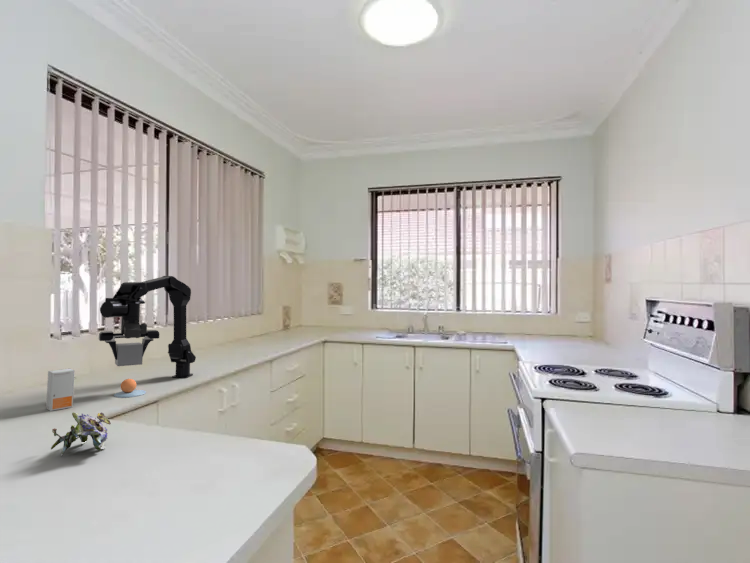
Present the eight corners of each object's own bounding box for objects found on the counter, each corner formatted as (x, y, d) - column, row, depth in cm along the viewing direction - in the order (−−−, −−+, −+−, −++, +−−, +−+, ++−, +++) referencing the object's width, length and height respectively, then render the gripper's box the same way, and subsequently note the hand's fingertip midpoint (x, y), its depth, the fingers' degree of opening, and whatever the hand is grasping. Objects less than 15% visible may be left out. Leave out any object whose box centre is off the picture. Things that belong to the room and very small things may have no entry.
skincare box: (50, 411, 125) (51, 372, 126) (46, 409, 128) (47, 370, 128) (73, 407, 130) (75, 369, 130) (69, 404, 133) (70, 368, 133)
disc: (125, 390, 152) (125, 389, 152) (151, 390, 152) (151, 390, 152) (107, 397, 142) (107, 396, 142) (135, 397, 142) (135, 397, 142)
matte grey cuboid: (114, 363, 150) (115, 343, 150) (138, 361, 155) (139, 342, 155) (117, 366, 144) (118, 345, 144) (142, 364, 149) (143, 344, 149)
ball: (128, 388, 145) (127, 398, 148) (140, 380, 150) (138, 389, 152) (117, 381, 146) (116, 390, 148) (129, 373, 150) (128, 382, 153)
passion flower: (100, 472, 97) (115, 438, 94) (42, 477, 90) (57, 440, 87) (100, 434, 105) (115, 401, 102) (48, 435, 98) (61, 400, 94)
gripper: (102, 318, 138) (100, 364, 137) (163, 317, 149) (161, 359, 149) (99, 316, 146) (97, 359, 146) (157, 315, 158) (155, 355, 157)
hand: (128, 358), depth 149 cm, fingers closed on matte grey cuboid, 8 cm apart
